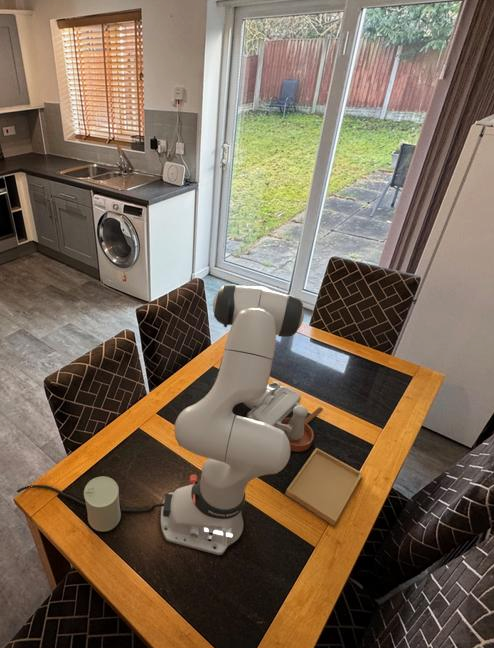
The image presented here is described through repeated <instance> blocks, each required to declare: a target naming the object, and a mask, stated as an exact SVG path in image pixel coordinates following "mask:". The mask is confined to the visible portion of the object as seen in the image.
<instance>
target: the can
mask: <svg viewBox="0 0 494 648" xmlns="http://www.w3.org/2000/svg"><path fill="white" fill-rule="evenodd" d="M119 488H120V487H119V485H118V483H117V482H116V481H115V480H114V479H113V478H111V477H109V476H106V475H105V476H98V477H94V478H92V479H91V480H89V481H88V482H87V484H86V485H85V487H84V489H83V498H84V503H86V506H85V508H86V513H87V514H86V515H87V522H88V524H89V526H90V527H91V528H92V529H93V530H95V531H97V532H109V531H111V530H113V529H115V528H116V527H117V526H118V524H119V523H120V521H121V518H122V517H121V516H122V512H121V511H120V509H121V507H120V506H121V505H120V495H119V494H120V493H119V492H120V490H119Z"/></svg>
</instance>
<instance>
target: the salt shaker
mask: <svg viewBox="0 0 494 648" xmlns="http://www.w3.org/2000/svg"><path fill="white" fill-rule="evenodd" d="M292 414H293V415H292V417H290V418H291V420H290V422H289V423H288V424H290V425H291V426H293V430H292V431H291V432H288V431H286V430H285V433H286V436H287V437H288V439H289V440H290V441H298V440H299V439H301V438H302V437H303V435H304V420H305V419H306V418H307V417H308V414H309V410H308V408H307V407H306V406H304V405H302V404H301V405H299V406H295V408H294V409H293V410H292Z"/></svg>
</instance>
